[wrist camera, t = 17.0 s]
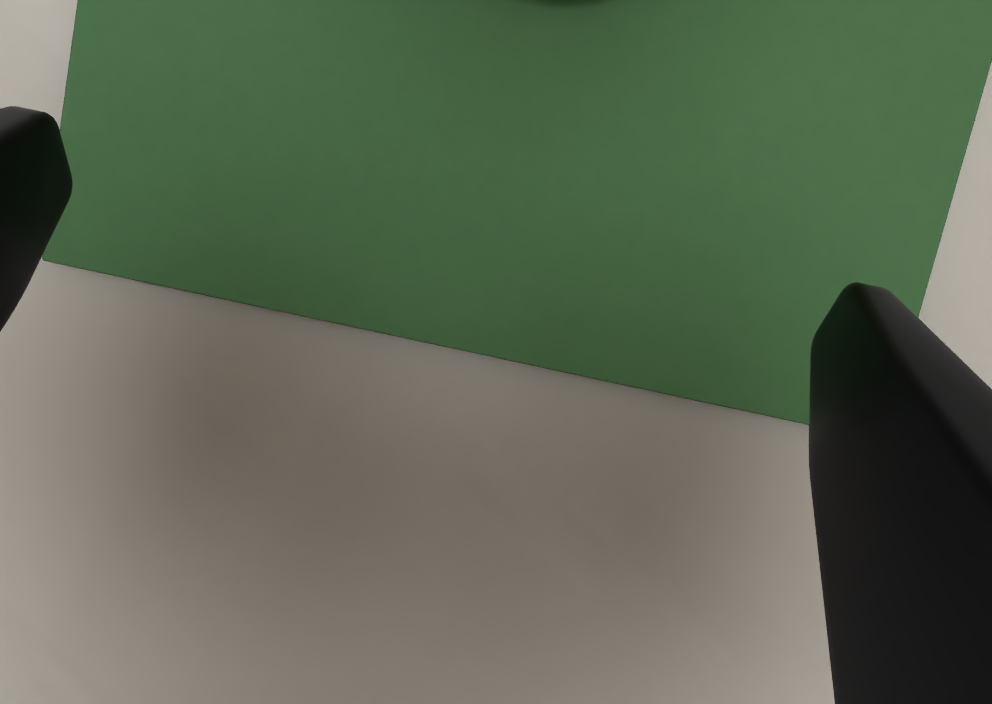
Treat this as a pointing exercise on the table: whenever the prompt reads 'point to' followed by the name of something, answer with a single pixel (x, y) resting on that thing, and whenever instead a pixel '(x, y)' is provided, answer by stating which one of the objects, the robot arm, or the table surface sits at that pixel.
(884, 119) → the green cloth
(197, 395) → the table surface
